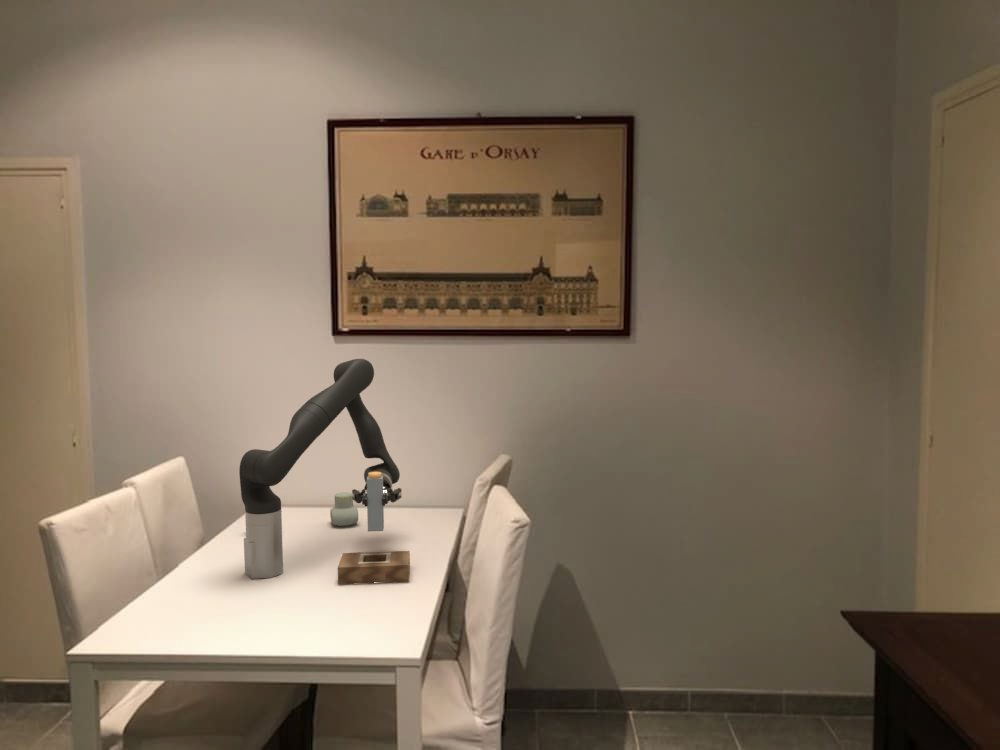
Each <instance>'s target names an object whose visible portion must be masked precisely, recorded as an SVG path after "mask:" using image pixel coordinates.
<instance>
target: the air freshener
mask: <svg viewBox="0 0 1000 750" xmlns="http://www.w3.org/2000/svg"><path fill="white" fill-rule="evenodd" d="M329 515H330V522H331V524H332V525H334V526H336V525H337V526H336V527H349V525H350V526H353V525H354V524H356V523H357V522H358V521H359V509H358V507H357V506H355V505H354V500H353V499H352V492H349V491H347V492H344V491H343V492H337V493H335V495H334V506H333V507H332V508H330V512H329Z"/></svg>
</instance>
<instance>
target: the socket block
mask: <svg viewBox="0 0 1000 750" xmlns="http://www.w3.org/2000/svg"><path fill="white" fill-rule="evenodd" d="M410 552H411V551H410V550H398V551H397V550H394V551H393V550H392V551H363V552H362V551H361V552H343V553H342V554H341V557H340V560H339V563H338V566H337V585H338V584H341V585H355V584H354V583H368V584H375V583H374V582H396V583H409V582H410V571H411V570H410V568H411V561H410V560H411V557H410V556H411V555H410ZM408 581H409V582H408Z"/></svg>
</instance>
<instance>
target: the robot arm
mask: <svg viewBox="0 0 1000 750" xmlns="http://www.w3.org/2000/svg"><path fill="white" fill-rule="evenodd" d="M374 376H375V369H374V366H373V364H372V363H371V362H370V361H369V360H367V359H365V358H354V359H351V360H347V361H344V362H341V363H338V364H337V365H336V366H335V368H334V369H333V381H334V383H333V384H331V385H330V386H328V387H326V388H324V389H323V390H322V391H320V392H318V393H317V394H315V395H314V396H312V397H311V398H309V399H308V400H307V401H306V402H305V403H304V404H302V406H300V408H298V410H296V412H294V414H293V415H292V417H291V419H290V423H289V426H288V427H289V429H288V431H287V435H286V437H285V438H284V439H283V440H282V441H281V442H280V443H279V444H278V445H277V446H276V447H275V448H273V449H271V450H265V449H264V450H263V449H257V448H255V449H250V450H248V451H246V452H245V453H244V454H243V455H242V457H241V460H240V462H239V463H240V464H239V473H238V475H239V485H240V495H241V502H242V503H243V505H244V512H245V513H244V515H245V516H244V517H245V538H243V552H244V553H243V554H244V560H243V561H244V574H246V576H248V577H249V578H250V579H251V580H254V579H268V578H274V577H277V576H279V575H281V574H282V573H284V555H283V553H284V551H283V550H284V549H283V521H282V519H283V518H282V499H281V498H280V497H279V496H278V495H277V494H276V493H274V491H273V490H272V488H271V487H273V486H276V485H278V484H279V483H280V482H282V481H283V480H284V478H286V476H287V475H288V473H289V472H290V471H291V470H292V468H293V467H294V465H295V464H297V461H298V460H299V459H300V458H301V456H302V455H303V454H304V453H305V452H306V451H307V449H308V448H310V446H311V445H312V444H313V443H314V442H315V440H316V439H318V437H320V436H321V435H322V434H323V432H324V431H326V430H327V428H328V427H329V426H330V425H331V424H332V422H333V421H335V419H337V417H338V416H339V415H340V414H341V413H342V412H343V410H344V409H346V410H347V412H348V414H349V417H350V419H351V420H352V423H353V427H354V429H355V431H356V434H357V438H358V441H359V443H360V444H359V445H360V447H361V450H362V455H363V456H364V457H365V459H380V460H381V461H382V462H380V463H378V464H374V465H371V466H368V467H367V468H366V469H364V472H363V479H364V482H365V485H364V488H363V489H361V491H360V490H357V489H355V488H353V489H352V490H351V493H352V499H353V502H355V503H356V504H361V503H362V505H363V506H364V507H367V506H368V505H367V477H368V473H369V472H381V476H383V497H382V506H384V507H385V506H386V505H388V504H389V502H391V503H396V502H397V501H398V500H400V499H402V494H403V493H402V488H400V487H397V488H396V489H393V485H394V484H396V483H397V482H399V480H400V477H401V475H400V470H399V468H398V466H397V464H396V463H395V462H394V460H393V458H392V456H391V454H390V453H389V451H388V449H387V447H386V443H385V441H384V436H383V433H382V430H381V428H380V426H379V424H378V422H377V420H376V418H375V417H374V416H373V415H372V414H371V412H370V411H369V410H368V409H367V407H366V405H365V404H364V402H363V400H362V397H361V394H362V393H363V391H365V390H366V389H367V388H368V387H369V386H370V385H371V384H372V382H373V380H374Z"/></svg>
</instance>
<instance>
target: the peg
mask: <svg viewBox="0 0 1000 750" xmlns="http://www.w3.org/2000/svg"><path fill="white" fill-rule="evenodd" d="M382 497H383V476H381V472H369V473H368V477H367V505H368V506H366V507H367V508H366V509H367V515H366V516H367V533H368V532H371V533H372V532H384V529H385V528H384V527H385V517H384V516H385V515H384V514H385V511H384V510H385V509H384V507H385V506H382Z"/></svg>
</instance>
